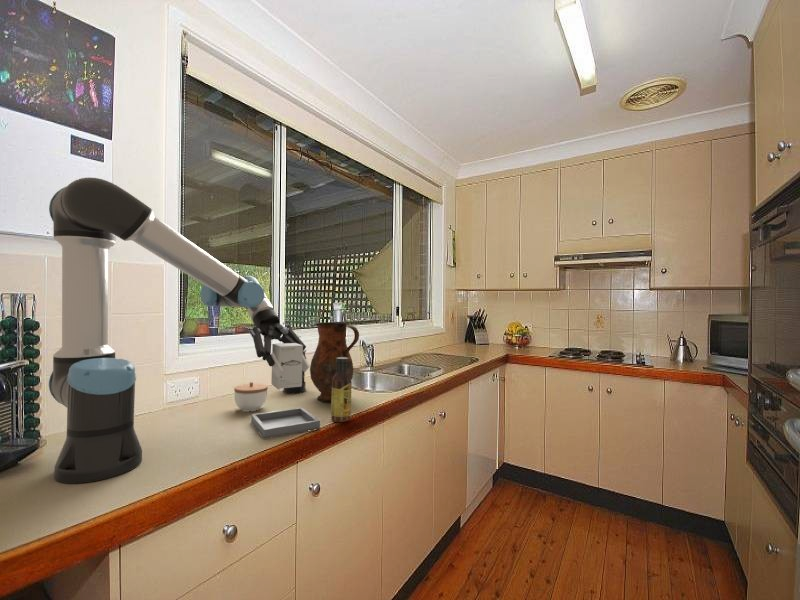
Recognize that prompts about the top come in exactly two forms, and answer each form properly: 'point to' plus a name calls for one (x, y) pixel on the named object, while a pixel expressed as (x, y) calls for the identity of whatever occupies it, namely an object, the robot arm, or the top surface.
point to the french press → (297, 389)
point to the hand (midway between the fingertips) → (293, 371)
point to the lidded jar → (250, 396)
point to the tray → (284, 422)
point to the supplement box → (288, 365)
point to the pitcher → (330, 356)
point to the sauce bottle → (341, 392)
